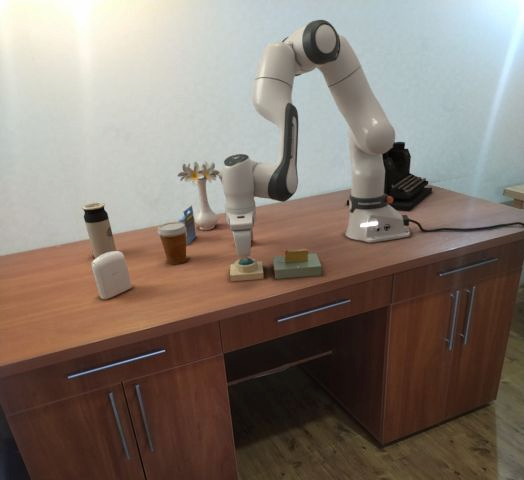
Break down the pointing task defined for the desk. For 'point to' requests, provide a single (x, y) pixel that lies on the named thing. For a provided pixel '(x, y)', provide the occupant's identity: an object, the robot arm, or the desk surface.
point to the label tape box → (189, 224)
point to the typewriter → (402, 179)
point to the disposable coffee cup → (174, 241)
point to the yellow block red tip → (296, 255)
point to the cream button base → (246, 271)
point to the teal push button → (245, 262)
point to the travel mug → (98, 229)
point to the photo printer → (111, 274)
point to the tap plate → (297, 267)
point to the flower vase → (202, 191)
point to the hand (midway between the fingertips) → (245, 260)
